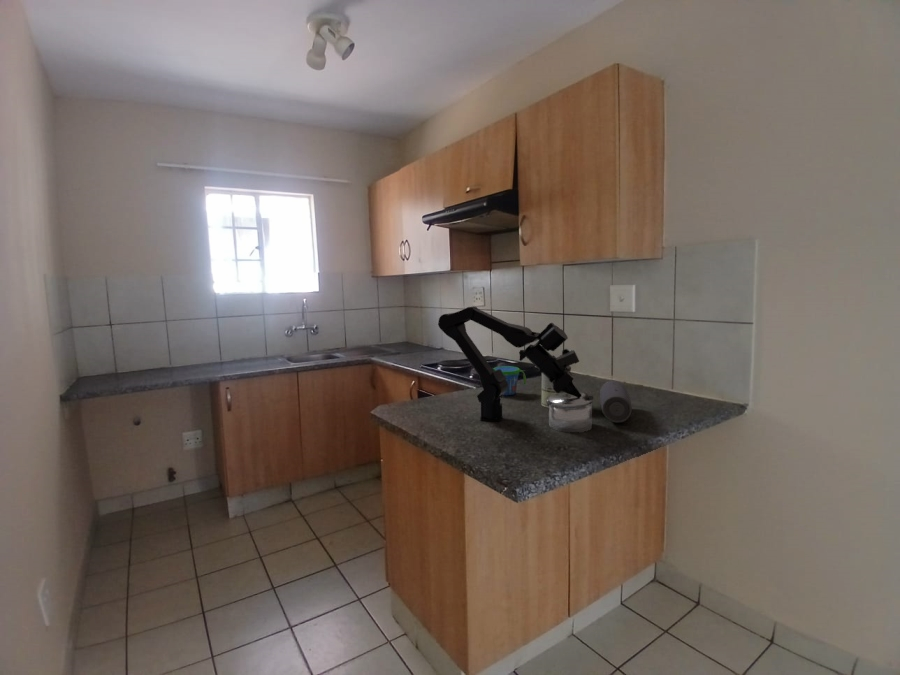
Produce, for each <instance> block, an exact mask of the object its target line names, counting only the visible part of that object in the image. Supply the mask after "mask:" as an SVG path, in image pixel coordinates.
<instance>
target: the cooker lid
mask: <svg viewBox="0 0 900 675" xmlns="http://www.w3.org/2000/svg"><path fill="white" fill-rule="evenodd" d="M580 394H581V395H582V396H581V397H580V398H578V397H575V396H573V395H570V394H568V393H560V394H555V395H552V396H550V397H547V398H546V402H547V405H552V406H555V407H561V408H575V407H583V406H587V405H589V404H592V403H593V401H594V395H593V393H592V392H591V390H590V389H585V393H584V392H580Z"/></svg>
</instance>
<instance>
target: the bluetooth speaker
mask: <svg viewBox="0 0 900 675" xmlns="http://www.w3.org/2000/svg"><path fill="white" fill-rule="evenodd" d="M599 405H600V408H601V412H602V414H603V415H604V417H605V418H606V419H607V420H609V421H610V422H612V423H623V422H625V421H627V420H628V419H629V418H630V417H631V415H632V412H633V411H632V406H633V405H632V400H631V398H630V394H629V393H628V389H627V388H626V387H625V385H624V384H622V383H621V382H620V381H618V380H608V381H606V382H605V383H603V384H602V385H601V387H600V390H599Z"/></svg>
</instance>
